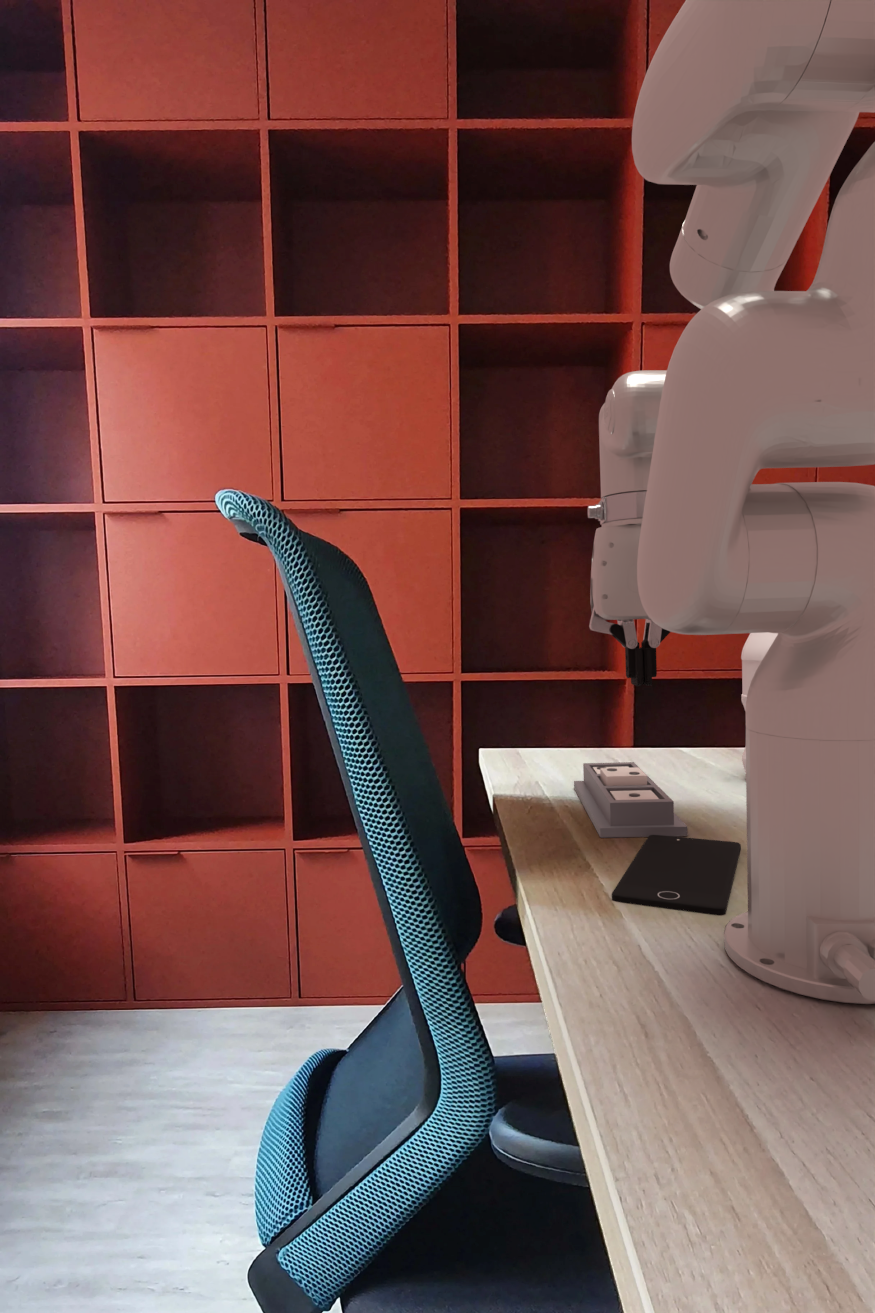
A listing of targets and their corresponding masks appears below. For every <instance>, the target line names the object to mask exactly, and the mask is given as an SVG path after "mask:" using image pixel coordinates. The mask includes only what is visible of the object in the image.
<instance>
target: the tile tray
mask: <svg viewBox="0 0 875 1313" xmlns="http://www.w3.org/2000/svg"><path fill="white" fill-rule="evenodd" d="M582 765H583V766H582V767H583V770H582V771H583V773H582V774H583V780H574V781H573V789H574V791H575V792H576V794H577V797H578V798H579V800H580V802H581V804H582V806H583V808H584V810H585V812H586V813H587V816H588V817H589V819H590V821H591V823H592V825H593V826H594V828H595V830H596V833H597V834H598V836H599V838H601V839H602V838H603V839H604V838H606V839H608V838H646V837H647V838H648V836H649V835H664V836H675V837H689V836H688V835H689V834H688V825H687V824H686V823H685V822H684V821H683V820H682V819H681V818H680V817H679V816H678V815H677V814H676V813H675V811H674V810H675V804H674V802H675V801H674V800H673V799H672V798H671V797H670V796H669V795H668V794H667V793H665V791H663V789H662V788H661V787H660V786H658V784H657V783H656V782H654V780H652V778H650V777H649V775H647V785H625V786H604V785H603V784H602V782H601V775H600V774H595V773H594V771H593V767H622V766H628V767H629V768H633V767H639V766H638V764H636V763H635V762H634V761H633V762H632V761H629V762H627V761H626V762H624V761H622V762H619V761H618V762H587V763H586V762H584V763H582ZM633 790H651V791H652V792H653V793H654V794H655V795H656V796H657V797H658V798H659V799H641V800H614V799H613V798H612V797H611V795H610V791H633Z"/></svg>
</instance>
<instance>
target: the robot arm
mask: <svg viewBox="0 0 875 1313" xmlns="http://www.w3.org/2000/svg"><path fill="white" fill-rule="evenodd" d="M664 33H665V34H664V35H663V37H662V38H661V41H660V42H659V44H658V47H657V49H656V50H655V53H654V54H653V57H652V59H651V61H650V64H649V66H648V68H647V70H646V73H645V76H644V79H643V82H642V84H641V87H640V90H639V93H638V98H637V101H636V106H635V110H634V114H633V120H632V128H631V129H632V130H631V153H632V156H633V161H634V162H633V163H634V165H635V167H636V169H637V172H638V173H639V175H640V176H641V177H642V178H643V179H644V180H645V181H647V182H651V183H653V184H657V185H681V186H682V185H684V186H690V185H691V186H692V185H693V186H695V190H694V192H693V196H692V199H691V201H690V204H689V207H688V210H687V213H686V216H685V219H684V221H683V223H682V226H681V229H680V231H679V235H678V237H677V240H676V242H675V245H674V247H673V249H672V250H673V251H672V253H671V256H670V261H669V274H670V278H671V280H672V281H671V282H672V283H673V285H674V287H675V288H676V290H677V291H678V292H679V293H680V295H681V296H683V297H684V298H685V299H686V300H687V301H688V302H690V303H691V304H692V305H694V306H696V307H697V308H698V309H700V310H699V311H697V312H696V314H694V316H692V318H691V319H690V321H689V322H688V323H687V325H686V326H685V328H684V329H683V331H682V333H680V337H679V338H678V340H677V343H676V345H675V346H674V348H673V351H672V354H671V357H670V360H669V362H668V366H667V369H666V370H664V369H663V370H661V369H660V370H656V369H654V370H650V369H647V370H636V371H635V370H634V371H629V372H626V373H624V374H622V375H620V376H619V377H618V378H617V379H616V381H615V382H614V384H613V385H612V387H611V389H609V390H608V392H607V395H606V397H605V401H604V403H603V404H602V406H601V408H600V410H599V413H598V436H599V437H598V439H599V441H598V442H599V445H598V446H599V472H600V475H599V476H600V477H599V478H600V500H599V502H597V503H594V505H588V506H587V518H588V519H595V520H597V521H598V522H599V524H600V525H601V527H598V528H596V530H595V533H594V539H593V546H592V555H591V567H590V568H591V570H590V591H589V592H590V593H589V594H590V595H589V596H590V598H589V599H590V602H589V603H590V611H591V616H590V619H589V625H588V627H589V630H590V631H593V632H597V633H602V634H608V635H611V636H612V637H613V638H614V639H615V640H616V641H617V642H618V643H619V644H621V646H622V647H623V648H624V653H625V654H624V656H625V657H624V658H625V660H624V662H625V676H626V678H627V679H630V682H631V685H633V686H635V687H641V686H643V685H644V686H646V687H647V686H651V687H652V685H653V678H656V677H657V675H658V674H657V673H658V671H657V668H658V667H657V665H658V664H657V648H658V647H659V646H660V645H661V643H662V641H664V640H665V638H667V637H668V636H669V634H671V633H675V634H679V635H688V636H690V635H693V636H707V635H708V636H709V635H711V636H713V635H714V636H715V635H733V634H734V635H735V634H736V635H738V634H739V635H740V634H750V633H765V632H769V633H778V635H777V637H776V638H775V640H774V642H773V643H772V645H771V647H770V648H769V650H768V652H767V653H766V655H765V656H764V658H763V659H762V661H761V663H760V665H759V666H758V668H757V670H756V672H755V674H754V676H753V678H752V681H751V683H750V687H749V690H748V694H747V700H746V712H745V746H746V771H745V776H746V777H745V783H746V784H745V790H746V793H745V795H746V796H745V797H746V799H745V800H746V802H745V803H746V805H745V806H746V864H747V865H746V866H747V869H746V872H747V876H746V877H747V883H746V884H747V911H744V912H741V913H739V914H738V915H736V916H735V917H732V918H731V919H730V920H729V921H728V922H727V923H726V924H725V925H724V926H725V927H724V930H723V931H724V932H723V941H724V942H723V943H724V950H725V951H726V953H727V955H728V957H729V958H730V959H731V961H733V962H734V964H735V965H737V966H738V967H739V968H741V969H742V970H743V971H744V972H746V973H747V974H749V975H750V976H753V977H755V978H756V979H759V980H760V981H762V982H764V983H767V984H769V985H771V986H774V987H776V988H779V989H782V990H784V991H787V992H791V993H794V994H798V995H801V996H805V997H810V998H814V999H819V1000H822V1001H823V1000H824V1001H830V1002H836V1003H837V1002H838V1003H844V1004H855V1005H856V1004H858V1005H875V485H871V484H866V483H860V482H859V483H858V482H849V481H848V482H847V481H844V482H843V481H816V482H815V481H813V482H811V481H810V482H803V481H802V482H775V483H763V484H760V483H759V484H758V483H756V484H755V483H753V481H754V480H755V478H756V476H757V474H758V472H759V471H760V470H762V469H786V468H789V469H791V468H792V469H793V468H798V469H799V468H801V469H802V468H830V467H831V468H834V467H837V468H838V467H840V468H841V467H856V466H857V467H859V466H872V465H875V141H874V142H873V143H872V144H871V145H870V146H869V148H868V149H867V151H866V152H865V153H864V154H863V155H862V157H861V158H860V160H859V161H858V162H857V163H856V164H855V166H853V169H852V170H851V172H850V173H849V174H848V176H847V178H846V179H845V180H844V182H843V184H842V186H841V188H840V189H839V191H838V193H837V195H836V198H835V200H834V203H833V206H832V209H831V212H830V216H829V220H828V223H827V227H826V228H827V229H826V232H825V237H824V241H823V247H822V253H821V255H820V258H819V259H820V260H819V263H818V267H817V270H816V273H815V276H814V278H813V281H812V283H811V285H810V286H809V287H808V289H807V290H806V291H805V290H792V291H791V290H789V291H788V290H775V287H776V284H777V282H778V279H779V278H780V276H781V274H782V271H783V270H784V268H785V266H786V264H787V262H788V260H789V259H790V256H791V254H792V252H793V250H794V248H795V246H796V245H797V241H799V239H800V236H801V234H802V232H803V230H804V227H805V226H806V223H807V222H808V220H809V217H810V216H811V214H812V212H813V210H814V208H815V206H816V204H817V202H818V201H819V198H820V195H822V192H823V189H825V186H826V183H827V182H828V180H829V178H830V176H831V174H832V172H833V169H834V167H835V165H836V164H837V161H838V159H839V157H840V155H841V153H842V151H843V149H844V146H845V145H846V144H847V140H848V139H849V137H850V135H851V133H852V131H853V129H854V127H855V125H856V123H857V121H858V118H859V114H860V113H875V0H685V1H684V3H683V4H682V5H681V7H680V9H679V10H678V13H676V15H675V17H674V18H673V20H672V21H671V23H670V25H669V27H668V28H667V30H666V31H665V32H664ZM615 620H616V621H617V623H613V622H609V621H615ZM635 620H645V622H644V623H645V624H644V629H643V630H644V632H643V637H642V638H643V639H642V641H641V644H640V642H638V638H637V637H638V636H637V631H636V625H635Z"/></svg>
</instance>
